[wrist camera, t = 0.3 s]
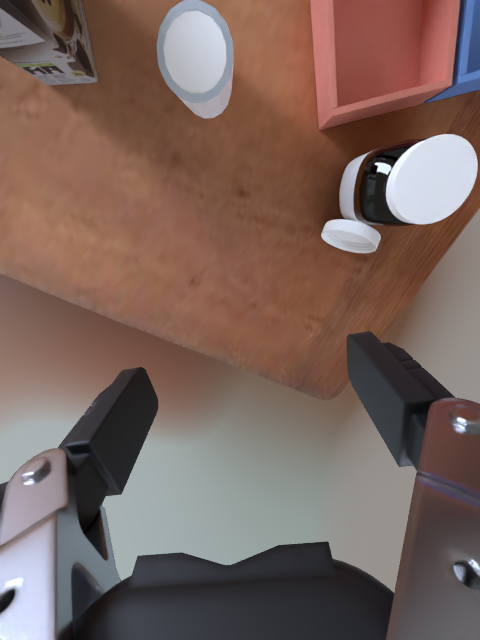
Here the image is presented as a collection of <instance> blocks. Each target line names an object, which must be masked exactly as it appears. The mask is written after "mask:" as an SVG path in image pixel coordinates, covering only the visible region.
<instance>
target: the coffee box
mask: <svg viewBox="0 0 480 640" xmlns="http://www.w3.org/2000/svg"><path fill="white" fill-rule="evenodd" d="M0 56H2V57H3V58H5V59H7V60H8V61H10V62H11V63H13V64H14V65H16V66H18V67H19V68H21V69H23V70H24V71H26V72H27V73H29V74H30V75H32V76H34V77H35V78H37V79H38V80H40V81H42V82H43V83H45V84H46V85H62V84H82V83H95V82H97V81H98V77H97V71H96V66H95V62H94V57H93V52H92V47H91V42H90V37H89V32H88V27H87V22H86V17H85V12H84V7H83V2H82V0H0Z"/></svg>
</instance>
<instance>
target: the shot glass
mask: <svg viewBox="0 0 480 640" xmlns="http://www.w3.org/2000/svg"><path fill="white" fill-rule="evenodd" d="M156 48H157V56H158V65H159V68H160V71H161V73H162V75H163V77H164V80H165V82H166V84H167V85H168V86H169V88H170V89H171V90H172V91H173V92H174V93H175V94H176V95H177V96H178V97H179V98H180V99H181V100H182V101H183V103H184V104H185V105H186V106H187V107H188V108H189V109H190V110H191V111H192V112H193V113H194V114H195V115H198V116H200V117H202V118H214V117H216V116H218V115H220V114H221V113H222V112H223V111H224V109H225V108H226V107H227V105H228V103H229V99H230V96H231V91H232V77H233V64H234V61H233V41H232V38H231V35H230V32H229V29H228V26H227V23H226V22H225V20H224V19H223V18H222V16H221V15H220V14H219V13H218V11H217V10H216V9H215V8H214V7H213V6H211V5H209V4H207V3H205V2H203V1H201V0H184V1H182V2H180V3H179V4H177V5H176V6H175V7H173V8H172V9H170V10H169V12H168V13H167V15H166V17H165V18H164V20H163V22H162V24H161V25H160V29H159V34H158V40H157V45H156Z"/></svg>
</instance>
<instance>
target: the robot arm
mask: <svg viewBox="0 0 480 640" xmlns="http://www.w3.org/2000/svg"><path fill="white" fill-rule="evenodd" d="M347 363H348V375H349V379H350V382H351V384H352V386H353V388H354V390H355V391H356V393H357V395H358V397H359V398H360V400H361V402H362V403H363V405H364V407H365V409H366V411H367V412H368V414H369V416H370V417H371V419H372V421H373V422H374V424H375V426H376V428H377V430H378V431H379V433H380V435H381V436H382V438H383V440H384V442H385V443H386V445H387V447H388V449H389V450H390V452H391V454H392V455H393V457H394V459H395V461H396V462H397V464H398V466H399V467H403V466H414V467H415V468H416V470H417V474H416V478H415V483H414V489H413V495H412V500H411V505H410V511H409V516H408V522H407V527H406V533H405V538H404V544H403V549H402V555H401V560H400V566H399V571H398V576H397V582H396V587H395V593H393V592H392V591H391V590H390V589H389V588H387V587H386V586H385V585H384V584H382V583H381V582H380V581H378V580H377V579H375V578H374V577H373V576H371V575H369V574H368V573H366V572H364V571H362V570H361V569H359V568H357V567H355V566H352V565H350V564H348V563H345V562H342V561H338V560H335V559H332V555H331V551H330V547H329V543H328V542H315V543H303V544H289V545H278V546H276V547H273V548H271V549H269V550H266V551H264V552H261V553H259V554H256V555H254V556H252V557H249V558H247V559H245V560H242V561H240V562H237V563H235V564H232V565H222V564H219V563H215V562H212V561H209V560H205V559H201V558H198V557H195V556H192V555H188V554H185V553H170V554H156V555H143V556H138V557H137V560H136V563H135V567H134V570H133V573H132V576H130V577H128V578H126V579H124V580H123V581H121V579H120V577H119V575H118V572H117V569H116V565H115V560H114V555H113V550H112V544H111V539H110V533H109V528H108V522H107V517H106V512H105V509H104V507H103V506H102V503H103V501H104V498H105V496H110V495H120V494H122V492H123V490H124V487H125V485H126V483H127V480H128V478H129V476H130V473H131V471H132V469H133V466H134V464H135V462H136V460H137V457H138V455H139V453H140V450H141V448H142V446H143V443H144V441H145V439H146V436H147V434H148V432H149V430H150V427H151V425H152V423H153V420H154V418H155V416H156V414H157V410H158V398H157V396H156V393H155V391H154V388H153V386H152V384H151V381H150V379H149V377H148V374H147V372H146V370H145V369H144V368H142V367H139V368H133V369H127V370H123V371H121V372H120V374H119V375H118V376H117V378H116V379H115V380H114V382H113V383H112V384H111V385H110V386H109V387H107V388H106V389H105V390H104V391H103V392H101V393H100V394H99V395H98V397H97V398H96V399H95V400H94V402H93V403H92V406H90V407H89V408H88V409H87V411H86V412H85V415H83V416H82V417H81V418H80V420H79V421H78V422H77V424H76V425H75V426H74V427H73V429H72V430H71V431H70V433H69V434H68V435H67V436H66V438H65V439H64V440H63V441H62V443H61V444H60V445H59V447H58V448H53V449H49V450H46V451H44V452H42V453H40V454H38V455H36V456H34V457H33V458H31V459H30V460H29V461H27V462H26V463H25V464H24V465H22V466H21V467H20V468H19V469H18V470H17V471H16V472H15V473H14V475H13V476H12V477H11V479H10V480H9V481H8V482H5V483H3V484H0V640H480V404H479V403H476V402H473V401H469V400H465V399H459V398H455V397H454V396H453V395H452V394H451V393H450V392H449V391H448V390H447V389H446V388H445V387H443V386H442V385H441V384H440V383H439V382H438V381H437V380H436V379H435V378H434V377H433V376H432V375H431V374H429V373H428V372H427V371H426V370H425V369H424V368H422V367H421V365H420V364H419V363H418V362H416V361H415V360H413V358H412V357H411V356H410V355H409V354H408V353H407V352H406V351H405V350H404V349H402V348H400V347H397V346H396V345H393V344H391V343H389V342H388V343H381V342H380V341H379V339H378V338H377V337H376V336H375V335H374V334H373V333H372V332H370V331H368V332H362V333H356V334H350V335H348V336H347Z"/></svg>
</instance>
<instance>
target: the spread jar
mask: <svg viewBox="0 0 480 640" xmlns="http://www.w3.org/2000/svg"><path fill="white" fill-rule="evenodd" d="M476 175H477V157H476V153H475V151H474V149H473V147H472V145H471V144H470V143H469V142H468V141H467V140H465V139H464V138H462V137H460V136H457V135H453V134H443V135H438V136H434V137H432V138H425V139H414V140H406V141H403V142H399V143H395V144H392V145H388V146H385V147H382V148H379V149H376V150H373V151H371V152H368V153H366V154H364V155H362V156H359V157H357V158H355V159H354V160H352V161H351V162H350V163H349V164H348V165H347V167H346V169H345V171H344V174H343V177H342V180H341V185H340V193H339V203H340V210H341V214H342V216H343V217H344V218H345V219H346V220H344V219H335V220H331V221H328V222H326V224H325V226H324V228H323V231H322V233H321V237H322V239H323V240H324V241H325V242H327V243H328V244H330V245H332V246H334V247H336V248H339V249H342V250H345V251H350V252H355V253H371V252H374V251H375V250H376V249H377V247H378V244H379V242H380V240H381V236H380V234H379V233H378V231H376V230H375V229H373V228H372V227H370V226H368V225H366V224H369V225H379V226H409V225H415V224H430V223H434V222H437V221H440V220H442V219H444V218H446V217H448V216H449V215H450V214H452V213H453V212H454V211H456V210H457V209H458V208H459V207H460V206H461V205H462V204H463V202H464V201H465V200H466V198H467V197H468V195H469V193H470V192H471V190H472V188H473V185H474V183H475V180H476Z"/></svg>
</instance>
